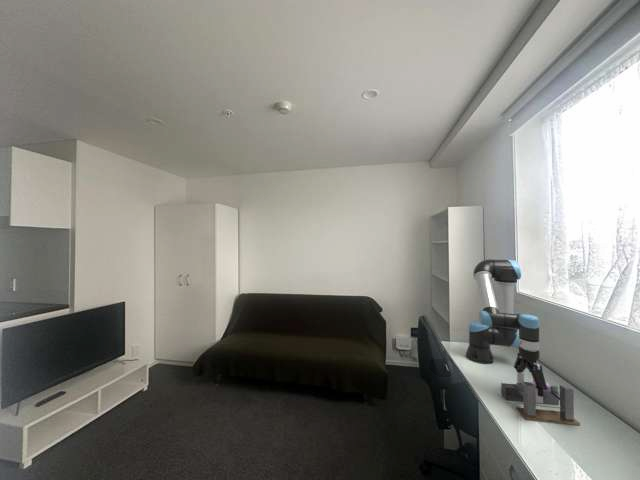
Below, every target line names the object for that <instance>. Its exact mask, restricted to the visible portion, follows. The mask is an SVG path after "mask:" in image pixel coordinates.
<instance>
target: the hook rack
mask: <svg viewBox="0 0 640 480" xmlns="http://www.w3.org/2000/svg"><path fill="white" fill-rule="evenodd" d="M516 384H517V391H518V392H519V393H520V394H521V395H522V396H523V404H522V405H523V407H520V406H519V407H517V406H515V410H516V412H517V413H518V414H519V415H520V416H521V418H523V419H524V420H525V421H533V422H542V423H543V422H544V423H553V424H562V425H570V426H573V425H574V426H581V423H580V421H578V420H577V419H576V418H574V417H575V416H574V415H575V410H574V409H575V407H574V406H575V405H574V403H575V402H574V400H575V399H574V389H573V388H572V387H571V386H569V385H568V384H567V385H566V384H565V385H564V384H559V387H558V386H557V385H550V387H551V394H552V395H554V396H555V397H556V398H558V399H559V404H560V408H559V410H558V411H557V410H549V409H548V410H547V409H541V408H540V409H538V408H537V407H536V386H535V385H534V384H532V383H531V382H530V381H524V382H523V384H522V383H517V382H516ZM558 389H559V390H558ZM558 392H559V393H558Z"/></svg>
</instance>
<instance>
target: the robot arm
mask: <svg viewBox="0 0 640 480" xmlns="http://www.w3.org/2000/svg"><path fill="white" fill-rule="evenodd" d="M521 278H522V270H521V267H520V264H519V263H518V261H516V260H513V259H490V258H489V259H483V260H481V261H480V262H478V264H477V265H475V266H474V269H473V279H474V280H475V281H476V285H477V291H478V295H479V299H480V306H481V309H482V310H480V311H479V312H478V313H479V314H478V320H477V321H476V320H475V321H472V322H470V323H469V325H468V345H467V349H466V352H465V357H466V359H468V360H470V361H473V362H474V363H478V364H484V365H488V364H489V365H490V364H493V363H494V355H493V353H492V349H491V345H494V346H501V347H508V348H517V347H518V346H519V347H518V353H517V357H516V360H515V363H514V366H513V368H514V369H515V370H516V380H517V381H516V384H517V383H522V384H523V382H525V370H526V369H528V372H529V373H530V374H531V377H532V379H533V380H534V382H535V384H536V403H543V390H547V386H546V383H547V382H546V378H545V376H544V372H543V365H541V364H538V363H537V361H538V360H540V324H541V323H540V319H539V317H538V316H536V315H534V314H533V315H532V314H525V313H524V314H523V313H522V312H514V310H515V309H514V308H515V307H514V306H515V305H514V302H515V300H514V299H515V298H514V297H515V285H516V284H517V283H518V280H521ZM492 279H493V282H495V283H496V294H495V291H494V287H493V283H492Z"/></svg>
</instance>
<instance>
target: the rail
mask: <svg viewBox="0 0 640 480" xmlns="http://www.w3.org/2000/svg"><path fill="white" fill-rule="evenodd" d="M500 392H501V393H500V394H501V395H502V397H503V398H504V399H505V400H507V401H518V402H523V396H522V395H521V394H520V393H519V392H518V391H517V383H506V382H505V383H503V382H501V391H500ZM558 393H559V394H560V391H558ZM539 404H550V405H559V404H560V400H559V399H558V398H556V397H555V396H554V395H552V394H551V386H549V387H547V390H543V403H539Z"/></svg>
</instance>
